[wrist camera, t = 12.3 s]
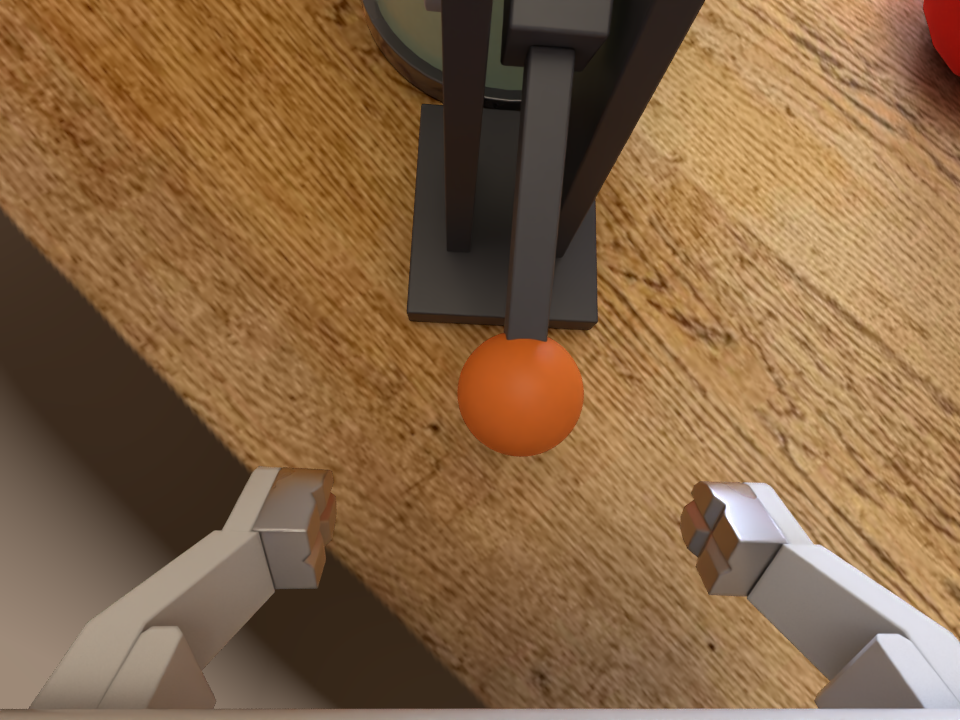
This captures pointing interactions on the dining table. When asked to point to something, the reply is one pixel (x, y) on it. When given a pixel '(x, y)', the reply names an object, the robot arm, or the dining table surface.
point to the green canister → (437, 49)
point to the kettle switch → (534, 237)
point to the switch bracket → (493, 157)
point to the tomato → (945, 30)
